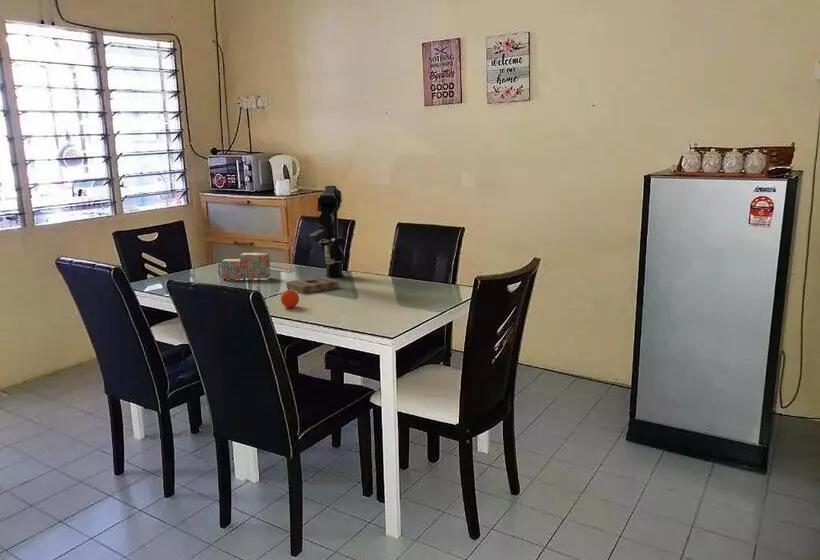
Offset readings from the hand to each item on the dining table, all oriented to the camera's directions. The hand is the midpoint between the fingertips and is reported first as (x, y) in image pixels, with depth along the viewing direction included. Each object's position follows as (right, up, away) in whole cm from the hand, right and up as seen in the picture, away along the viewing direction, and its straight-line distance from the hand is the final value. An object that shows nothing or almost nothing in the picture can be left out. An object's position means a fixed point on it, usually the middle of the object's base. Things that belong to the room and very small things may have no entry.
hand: (329, 259), depth 286 cm
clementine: (-11, -20, -33) cm, 40 cm away
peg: (0, -2, 0) cm, 2 cm away
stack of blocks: (-42, -9, +21) cm, 47 cm away
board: (-7, -13, -1) cm, 15 cm away
